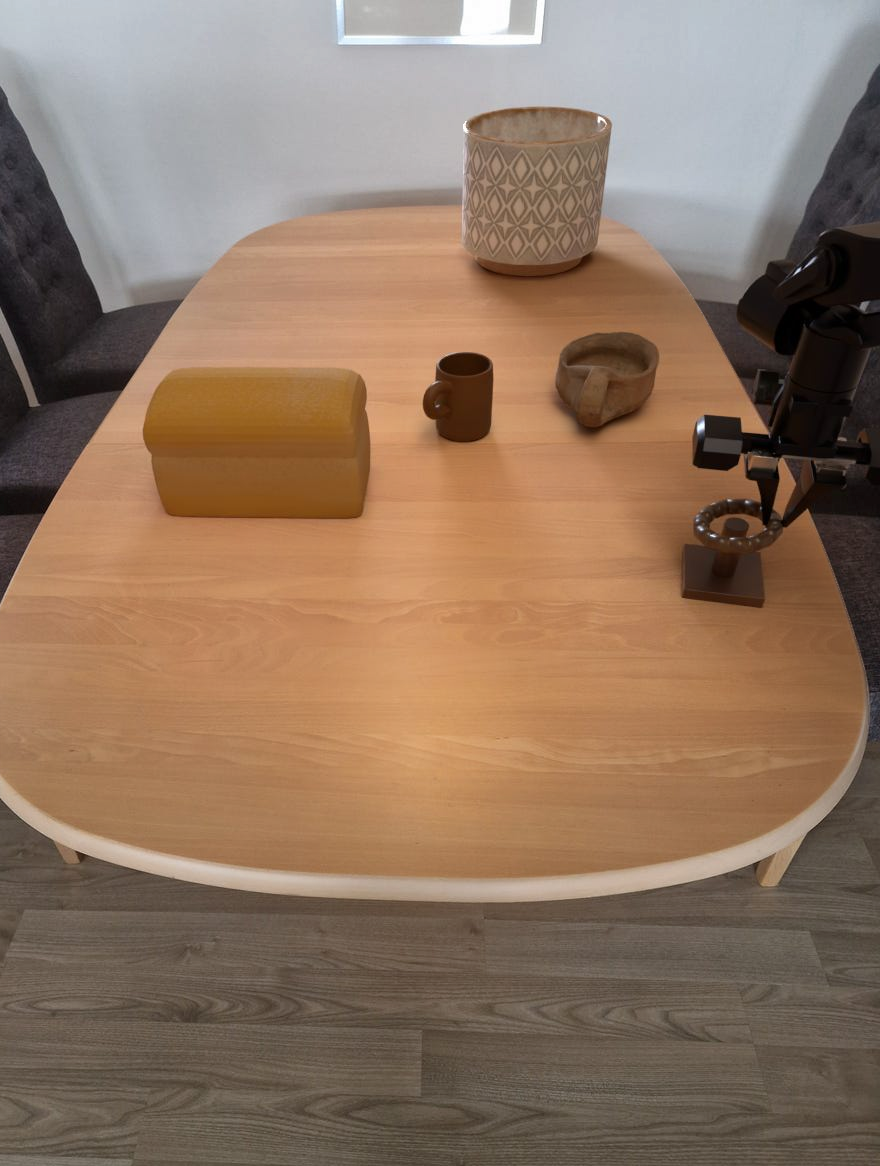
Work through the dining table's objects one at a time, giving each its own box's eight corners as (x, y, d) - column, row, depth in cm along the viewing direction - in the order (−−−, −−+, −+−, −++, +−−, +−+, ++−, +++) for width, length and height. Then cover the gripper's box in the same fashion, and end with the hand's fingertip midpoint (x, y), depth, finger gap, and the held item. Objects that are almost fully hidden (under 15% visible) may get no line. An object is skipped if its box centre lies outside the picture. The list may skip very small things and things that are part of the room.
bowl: (671, 438, 108) (663, 367, 101) (563, 459, 112) (548, 393, 106) (660, 373, 120) (652, 306, 114) (562, 395, 125) (549, 332, 118)
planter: (493, 291, 149) (499, 150, 133) (442, 245, 166) (442, 116, 151) (620, 268, 154) (640, 131, 139) (557, 227, 172) (569, 100, 156)
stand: (757, 560, 92) (775, 506, 87) (762, 608, 86) (781, 552, 81) (682, 551, 93) (695, 497, 88) (681, 597, 88) (696, 542, 83)
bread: (372, 462, 109) (365, 352, 98) (362, 520, 100) (353, 405, 89) (189, 460, 111) (163, 352, 100) (162, 517, 101) (131, 404, 91)
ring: (778, 507, 87) (779, 494, 86) (784, 556, 81) (786, 543, 80) (693, 509, 90) (693, 497, 88) (693, 557, 84) (693, 544, 83)
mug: (448, 464, 108) (449, 397, 101) (403, 445, 112) (401, 379, 105) (502, 426, 114) (505, 360, 108) (458, 409, 118) (458, 345, 112)
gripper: (921, 346, 77) (862, 490, 87) (709, 332, 80) (678, 471, 91) (948, 404, 69) (879, 554, 80) (712, 385, 73) (677, 531, 83)
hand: (773, 524), depth 84 cm, fingers closed on ring, 1 cm apart
